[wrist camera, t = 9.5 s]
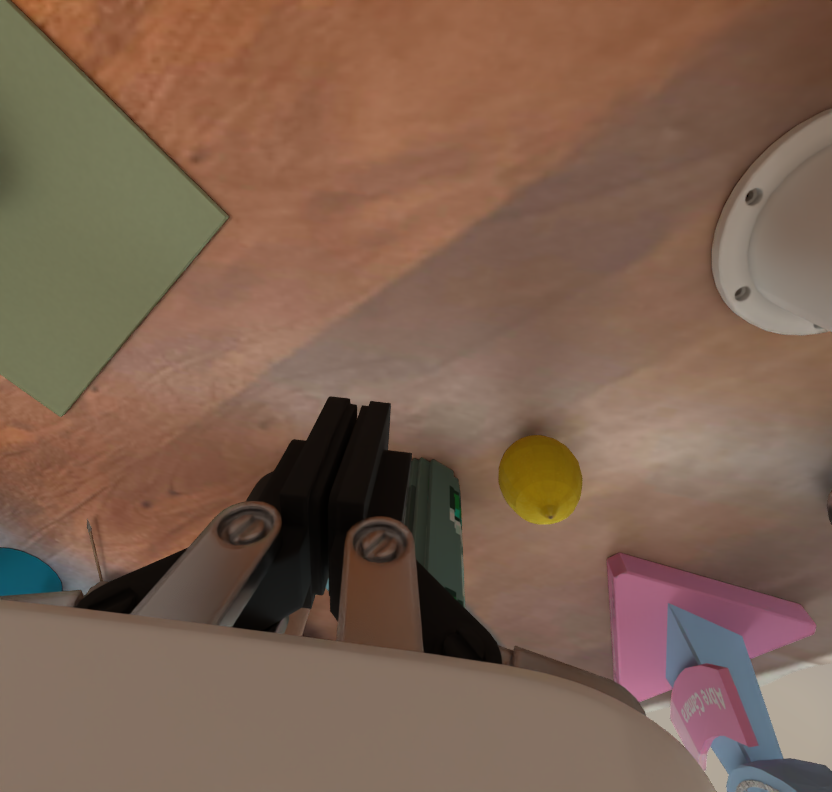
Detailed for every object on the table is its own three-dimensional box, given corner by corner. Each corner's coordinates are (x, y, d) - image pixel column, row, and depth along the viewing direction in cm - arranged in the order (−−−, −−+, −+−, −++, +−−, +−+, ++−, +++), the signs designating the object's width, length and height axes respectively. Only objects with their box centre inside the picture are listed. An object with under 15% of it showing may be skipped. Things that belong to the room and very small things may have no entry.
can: (429, 527, 40) (421, 715, 27) (370, 493, 38) (331, 675, 25) (473, 483, 37) (488, 668, 24) (411, 446, 36) (392, 620, 23)
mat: (-65, -74, 22) (-75, -79, 22) (229, 216, 28) (226, 217, 28) (-184, 236, 30) (-193, 238, 30) (65, 414, 36) (60, 417, 36)
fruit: (493, 474, 37) (504, 552, 30) (493, 415, 34) (506, 485, 27) (564, 473, 36) (592, 551, 29) (570, 412, 33) (602, 483, 26)
